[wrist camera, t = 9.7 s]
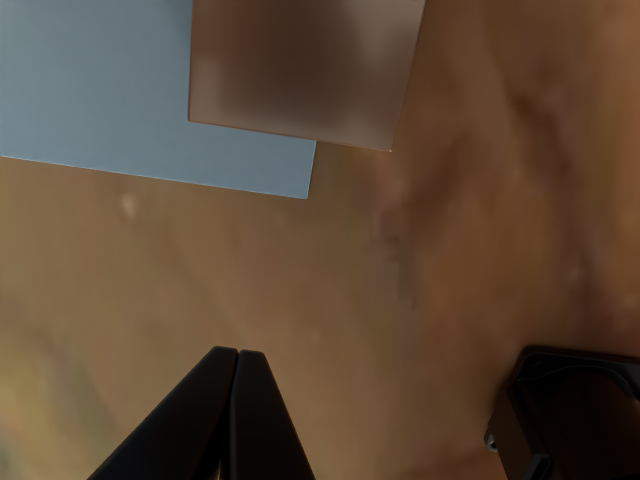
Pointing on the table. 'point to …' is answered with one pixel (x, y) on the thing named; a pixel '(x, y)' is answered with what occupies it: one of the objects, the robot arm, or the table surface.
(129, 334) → the table surface
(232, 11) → the walnut block
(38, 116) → the placemat
